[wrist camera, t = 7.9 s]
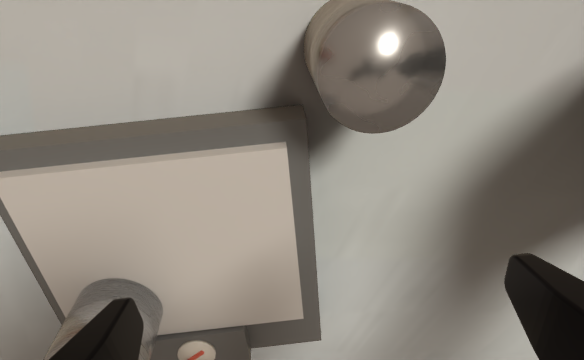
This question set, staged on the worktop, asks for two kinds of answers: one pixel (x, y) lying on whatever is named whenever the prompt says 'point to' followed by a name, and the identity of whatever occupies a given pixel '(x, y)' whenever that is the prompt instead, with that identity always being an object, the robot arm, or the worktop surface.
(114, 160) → the kitchen scale
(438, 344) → the worktop surface
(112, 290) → the cylinder
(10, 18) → the worktop surface
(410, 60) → the cylinder
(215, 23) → the worktop surface
